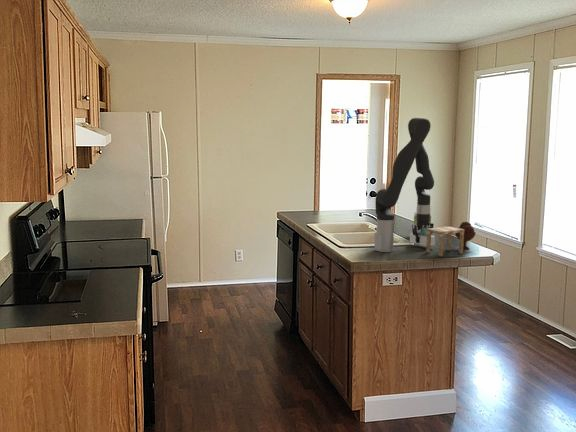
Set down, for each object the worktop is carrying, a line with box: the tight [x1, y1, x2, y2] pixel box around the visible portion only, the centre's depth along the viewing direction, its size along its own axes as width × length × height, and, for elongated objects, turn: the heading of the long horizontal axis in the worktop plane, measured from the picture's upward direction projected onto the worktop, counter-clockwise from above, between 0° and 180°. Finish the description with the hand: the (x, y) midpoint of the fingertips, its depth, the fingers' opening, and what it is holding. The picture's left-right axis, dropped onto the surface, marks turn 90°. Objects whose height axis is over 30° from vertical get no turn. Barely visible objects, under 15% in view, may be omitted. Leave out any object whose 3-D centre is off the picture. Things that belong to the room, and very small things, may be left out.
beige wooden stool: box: [425, 225, 464, 257], centre depth 324 cm, size 16×11×13 cm
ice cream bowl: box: [454, 221, 476, 251], centre depth 336 cm, size 11×11×15 cm
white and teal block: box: [409, 228, 436, 247], centre depth 339 cm, size 6×14×9 cm, turn 29°
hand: (422, 242), depth 340 cm, fingers closed on white and teal block, 6 cm apart
